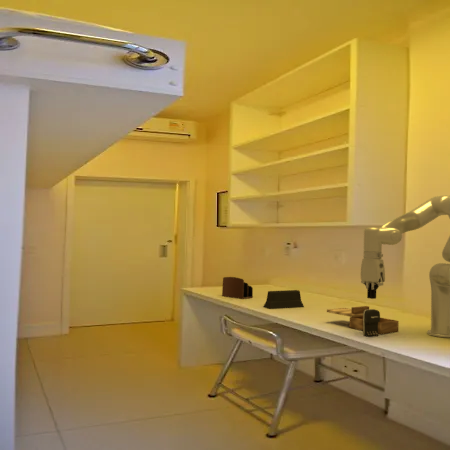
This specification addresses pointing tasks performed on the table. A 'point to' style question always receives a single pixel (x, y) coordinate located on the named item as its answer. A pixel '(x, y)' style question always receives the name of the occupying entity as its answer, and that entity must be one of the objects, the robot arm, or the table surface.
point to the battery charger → (371, 322)
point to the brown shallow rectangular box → (383, 326)
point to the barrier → (283, 299)
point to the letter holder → (236, 288)
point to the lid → (349, 311)
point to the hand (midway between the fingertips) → (371, 298)
